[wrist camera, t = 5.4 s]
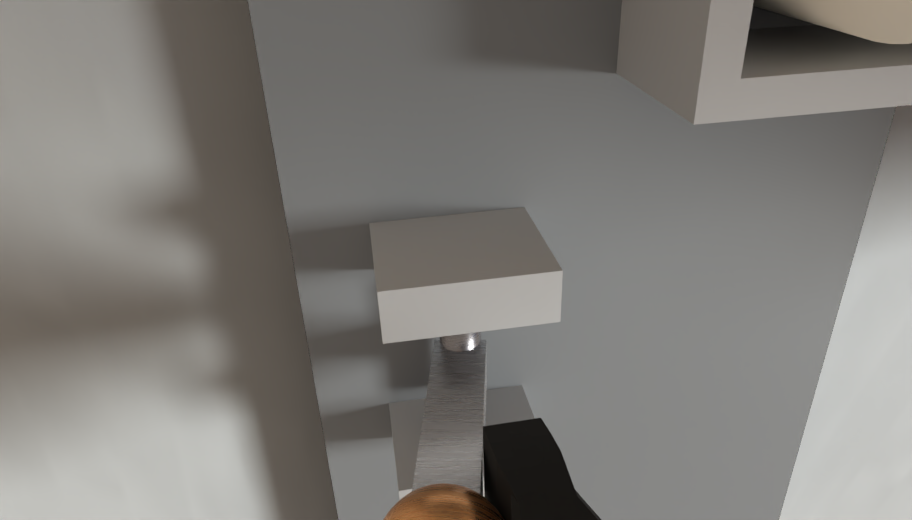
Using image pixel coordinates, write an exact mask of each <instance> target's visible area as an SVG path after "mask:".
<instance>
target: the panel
mask: <svg viewBox="0 0 912 520" xmlns="http://www.w3.org/2000/svg"><path fill="white" fill-rule="evenodd" d="M753 3H754V0H248V5H249V11H250V17H251V23H252V28H253V34H254V40H255V45H256V51H257V57H258V63H259V68H260V74H261V80H262V85H263V91H264V97H265V103H266V108H267V114H268V120H269V126H270V131H271V137H272V143H273V148H274V154H275V160H276V166H277V171H278V177H279V183H280V188H281V194H282V200H283V206H284V211H285V217H286V223H287V229H288V234H289V240H290V246H291V251H292V257H293V263H294V269H295V274H296V280H297V286H298V291H299V297H300V303H301V309H302V314H303V320H304V326H305V332H306V337H307V343H308V349H309V354H310V360H311V366H312V372H313V377H314V383H315V389H316V394H317V400H318V406H319V412H320V417H321V423H322V429H323V434H324V440H325V446H326V452H327V457H328V463H329V469H330V475H331V480H332V486H333V492H334V497H335V503H336V509H337V515H338V520H383V519H384V518H385V516H386V515H387V513H388V512H389V511H390V509H391V508H392V507H393V506H394V505H395V504H396V503H397V502H398V501H399V500H400V499H401V498H403V497H404V496H406V495H407V494H409V493H410V492H412V487H413V481H414V474H415V467H416V461H417V454H418V447H419V441H420V434H421V427H422V421H423V414H424V407H425V401H426V394H427V387H428V381H429V374H430V368H431V361H432V354H433V348H434V341H435V339H440V337H443V336H451V335H459V334H467V333H475V332H481V340H486V353H487V394H486V423H485V426H488V425H495V424H502V423H508V422H515V421H522V420H529V419H535V418H541V419H542V420H543V422H544V423H545V425H546V426H547V428H548V430H549V431H550V433H551V434H552V436H553V438H554V440H555V441H556V443H557V445H558V447H559V448H560V450H561V453H562V455H563V458H564V461H565V463H566V466H567V469H568V472H569V474H570V477H571V480H572V483H573V486H574V488H575V490H576V491H577V492H578V493H579V495H580V496H581V497H582V498H583V499H584V500H585V502H586V503H587V504H588V505H589V506H590V507H591V508H592V509H593V511H594V512H595V513H596V514H597V515H598V516H599V517H600V519H601V520H779V517H780V514H781V510H782V507H783V503H784V500H785V496H786V493H787V489H788V485H789V482H790V478H791V475H792V471H793V468H794V464H795V461H796V457H797V454H798V450H799V447H800V443H801V440H802V436H803V433H804V429H805V426H806V422H807V419H808V415H809V412H810V408H811V405H812V401H813V398H814V394H815V390H816V387H817V383H818V380H819V376H820V373H821V369H822V366H823V362H824V359H825V355H826V352H827V348H828V345H829V341H830V338H831V334H832V331H833V327H834V324H835V320H836V317H837V313H838V310H839V306H840V303H841V299H842V295H843V292H844V288H845V285H846V281H847V278H848V274H849V271H850V267H851V264H852V260H853V257H854V253H855V250H856V246H857V243H858V239H859V236H860V232H861V229H862V225H863V222H864V218H865V215H866V211H867V208H868V204H869V200H870V197H871V193H872V190H873V186H874V183H875V179H876V176H877V172H878V169H879V165H880V162H881V158H882V155H883V151H884V148H885V144H886V141H887V137H888V134H889V130H890V127H891V123H892V120H893V116H894V113H895V109H896V106H907V105H912V43H910V44H887V43H880V42H874V41H871V40H868V39H864V38H861V37H857V36H854V35H850V34H847V33H843V32H840V31H837V30H833V29H830V28H826V27H823V26H819V25H816V24H812V23H809V22H806V21H802V20H799V19H795V18H792V17H788V16H785V15H782V14H778V13H775V12H771V11H768V10H764V9H761V8H758V7H755V6H753ZM483 496H484V497H485V494H484V481H483Z"/></svg>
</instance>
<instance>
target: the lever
mask: <svg viewBox="0 0 912 520" xmlns="http://www.w3.org/2000/svg"><path fill="white" fill-rule="evenodd" d="M486 394H487V353H486V340H481V332H475V333H467V334H459V335H451V336H443V337H440V339H435V341H434V348H433V354H432V361H431V368H430V374H429V381H428V387H427V394H426V401H425V407H424V414H423V421H422V427H421V434H420V441H419V447H418V454H417V461H416V467H415V474H414V481H413V487H412V492H410V493H409V494H407V495H406V496H404V497H403V498H401V499H400V500H399V501H398V502H397V503H396V504H395V505H394V506H393V507H392V508H391V509H390V511H389V512H388V513H387V515H386V516H385V518H384V519H383V520H504V519H503V517H502V515H501V514H500V513H499V511H498V510H497V509H496V508H495V507H494V505H493V504H492V503H491V502H490V501H489V500H487V499H486V498H485V497H484V496H483V481H484V457H483V426H485V423H486Z"/></svg>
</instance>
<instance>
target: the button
mask: <svg viewBox="0 0 912 520" xmlns="http://www.w3.org/2000/svg"><path fill="white" fill-rule="evenodd" d="M753 6H755V7H758V8H761V9H764V10H768V11H771V12H775V13H778V14H782V15H785V16H788V17H792V18H795V19H799V20H802V21H806V22H809V23H812V24H816V25H819V26H823V27H826V28H830V29H833V30H837V31H840V32H843V33H847V34H850V35H854V36H857V37H861V38H864V39H868V40H871V41H874V42H880V43H887V44H910V43H912V0H754V3H753Z"/></svg>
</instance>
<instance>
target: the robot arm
mask: <svg viewBox="0 0 912 520" xmlns="http://www.w3.org/2000/svg"><path fill="white" fill-rule="evenodd" d="M483 457H484V494H485V498H486V499H487V500H489V501H490V502H491V503H492V504H493V505H494V507H495V508H496V509H497V510H498V511H499V513H500V514H501V515H502V517H503V519H504V520H601V519H600V517H599V516H598V515H597V514H596V513H595V512H594V511H593V509H592V508H591V507H590V506H589V505H588V504H587V503H586V502H585V500H584V499H583V498H582V497H581V496H580V495H579V493H578V492H577V491H576V490H575V488H574V486H573V483H572V480H571V477H570V474H569V472H568V469H567V466H566V463H565V461H564V458H563V455H562V453H561V450H560V448H559V447H558V445H557V443H556V441H555V440H554V438H553V436H552V434H551V433H550V431H549V430H548V428H547V426H546V425H545V423H544V422H543V420H542V419H541V418H535V419H529V420H522V421H515V422H508V423H502V424H495V425H488V426H483Z"/></svg>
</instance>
